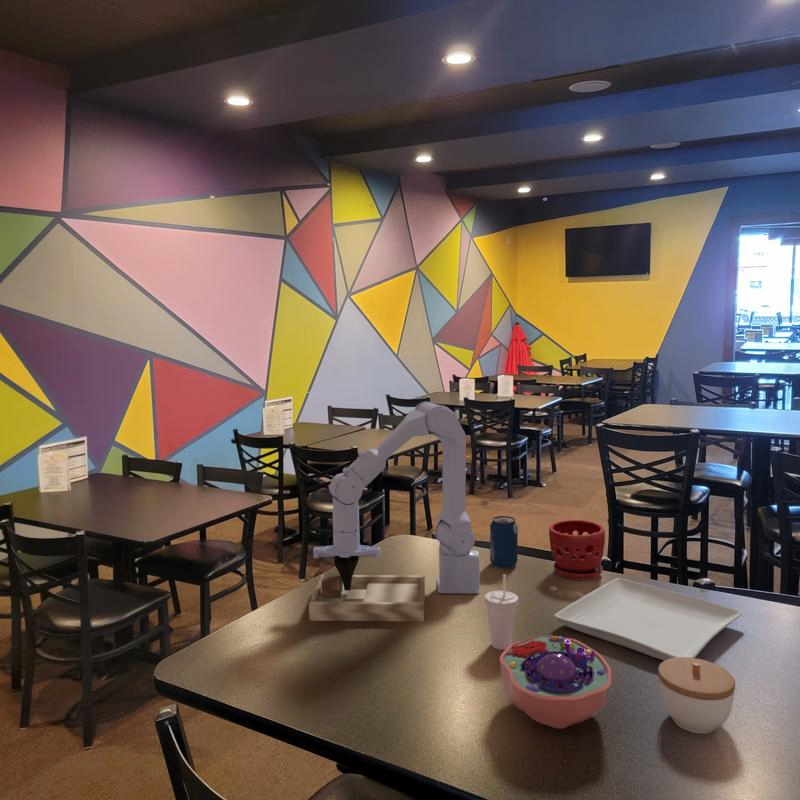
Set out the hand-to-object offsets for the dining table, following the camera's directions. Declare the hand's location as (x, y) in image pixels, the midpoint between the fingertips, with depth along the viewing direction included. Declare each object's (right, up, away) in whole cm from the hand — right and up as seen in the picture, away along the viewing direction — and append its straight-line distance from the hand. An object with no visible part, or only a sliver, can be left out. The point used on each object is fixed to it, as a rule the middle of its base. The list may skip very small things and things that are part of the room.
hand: (347, 588), depth 146 cm
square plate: (+61, -5, -13) cm, 63 cm away
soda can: (+38, -1, +23) cm, 45 cm away
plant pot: (+55, -1, +17) cm, 57 cm away
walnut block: (-3, -1, 0) cm, 4 cm away
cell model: (+36, -8, -41) cm, 55 cm away
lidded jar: (+57, -8, -44) cm, 72 cm away
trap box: (+5, -4, 0) cm, 6 cm away
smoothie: (+31, -6, -19) cm, 37 cm away
